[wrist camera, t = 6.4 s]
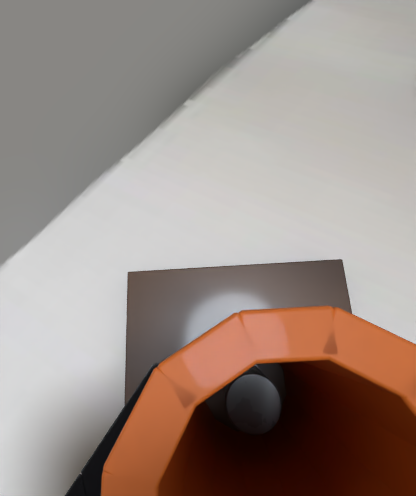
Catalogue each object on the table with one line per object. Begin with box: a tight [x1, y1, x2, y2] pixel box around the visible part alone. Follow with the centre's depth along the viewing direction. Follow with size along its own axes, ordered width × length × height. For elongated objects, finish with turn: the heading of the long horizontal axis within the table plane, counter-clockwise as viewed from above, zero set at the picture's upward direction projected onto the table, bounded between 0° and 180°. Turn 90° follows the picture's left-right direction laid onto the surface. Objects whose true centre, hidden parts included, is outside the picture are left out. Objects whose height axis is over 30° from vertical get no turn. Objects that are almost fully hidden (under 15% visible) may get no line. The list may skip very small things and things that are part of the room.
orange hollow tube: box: [101, 305, 416, 496], centre depth 9 cm, size 6×6×11 cm
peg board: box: [125, 259, 352, 435], centre depth 13 cm, size 12×12×6 cm
